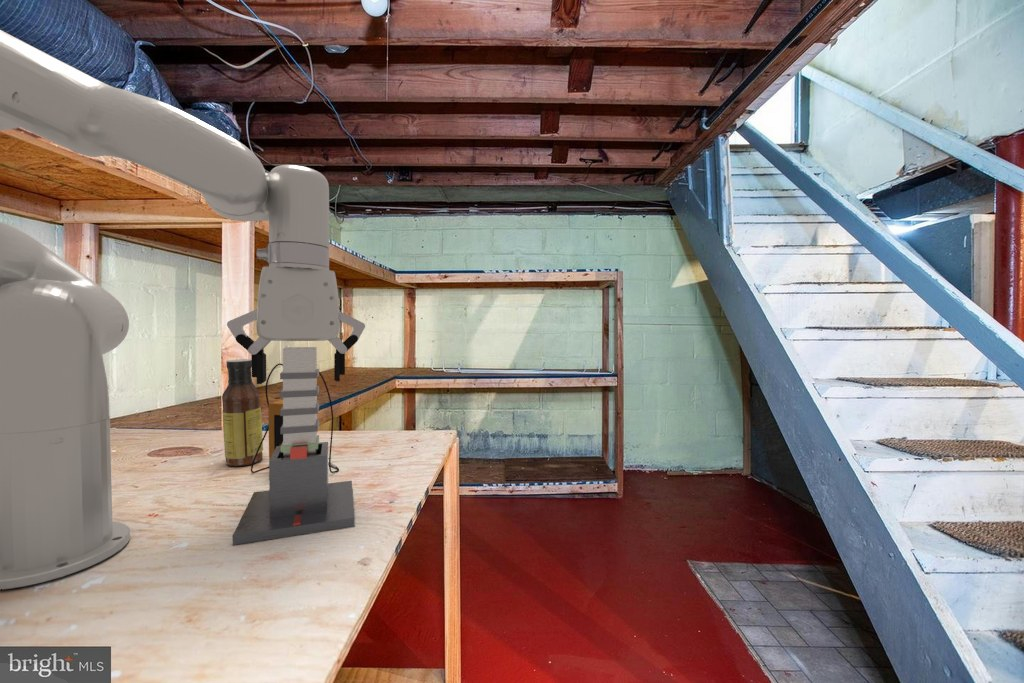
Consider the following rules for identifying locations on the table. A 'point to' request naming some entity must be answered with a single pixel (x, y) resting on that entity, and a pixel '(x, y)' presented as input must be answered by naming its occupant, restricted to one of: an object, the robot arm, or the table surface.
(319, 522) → the stand base
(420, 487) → the table surface
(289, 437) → the column
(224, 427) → the sauce bottle
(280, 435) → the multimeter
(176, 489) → the table surface
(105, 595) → the table surface
